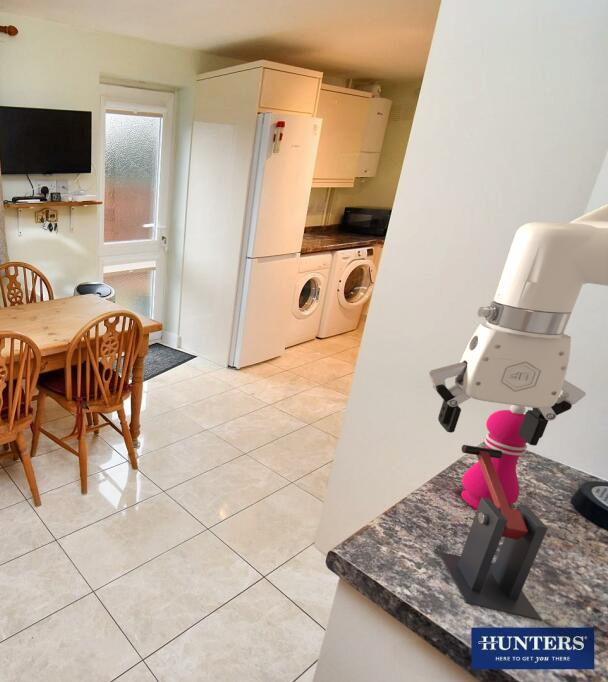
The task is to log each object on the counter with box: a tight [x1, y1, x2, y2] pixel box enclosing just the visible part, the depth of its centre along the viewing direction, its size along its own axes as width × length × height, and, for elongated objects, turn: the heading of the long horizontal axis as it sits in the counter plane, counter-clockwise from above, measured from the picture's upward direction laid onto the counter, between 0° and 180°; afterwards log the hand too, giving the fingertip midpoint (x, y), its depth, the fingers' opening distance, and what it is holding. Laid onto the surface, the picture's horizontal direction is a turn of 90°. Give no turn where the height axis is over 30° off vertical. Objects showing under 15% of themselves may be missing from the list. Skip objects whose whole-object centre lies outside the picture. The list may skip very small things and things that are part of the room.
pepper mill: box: [460, 405, 528, 512], centre depth 73 cm, size 7×7×20 cm
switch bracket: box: [437, 498, 548, 622], centre depth 58 cm, size 9×8×13 cm
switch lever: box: [461, 444, 528, 540], centre depth 61 cm, size 13×4×2 cm, turn 162°
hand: (485, 434), depth 64 cm, fingers open, 9 cm apart
